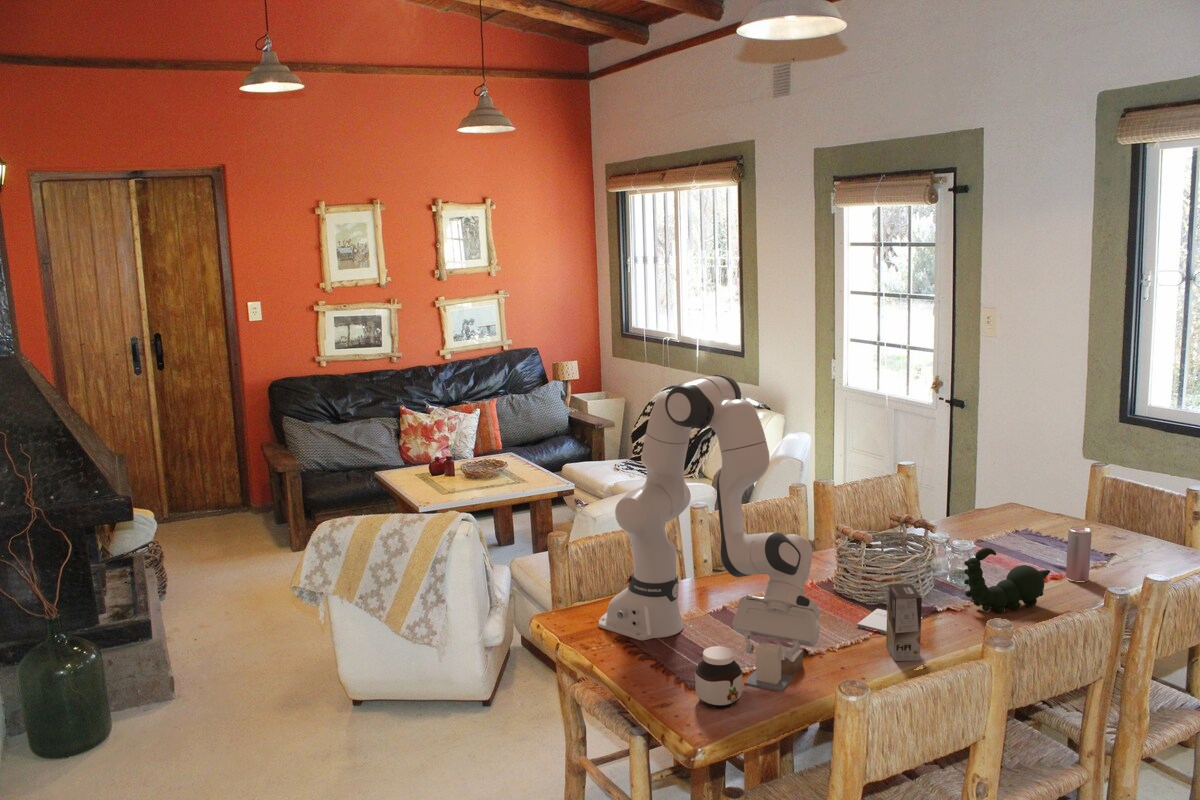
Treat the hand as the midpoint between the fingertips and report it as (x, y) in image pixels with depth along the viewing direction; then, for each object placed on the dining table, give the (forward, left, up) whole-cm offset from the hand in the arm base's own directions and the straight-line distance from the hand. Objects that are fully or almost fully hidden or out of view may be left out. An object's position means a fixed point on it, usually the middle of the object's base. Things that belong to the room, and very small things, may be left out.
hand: (767, 656), depth 234 cm
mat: (0, +1, -6) cm, 6 cm away
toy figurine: (+43, +68, -7) cm, 81 cm away
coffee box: (+24, +29, -7) cm, 38 cm away
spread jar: (-7, -11, -7) cm, 15 cm away
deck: (0, +8, -6) cm, 10 cm away
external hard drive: (+15, +44, -7) cm, 47 cm away
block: (0, +1, -6) cm, 6 cm away
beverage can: (+57, +98, -7) cm, 113 cm away
